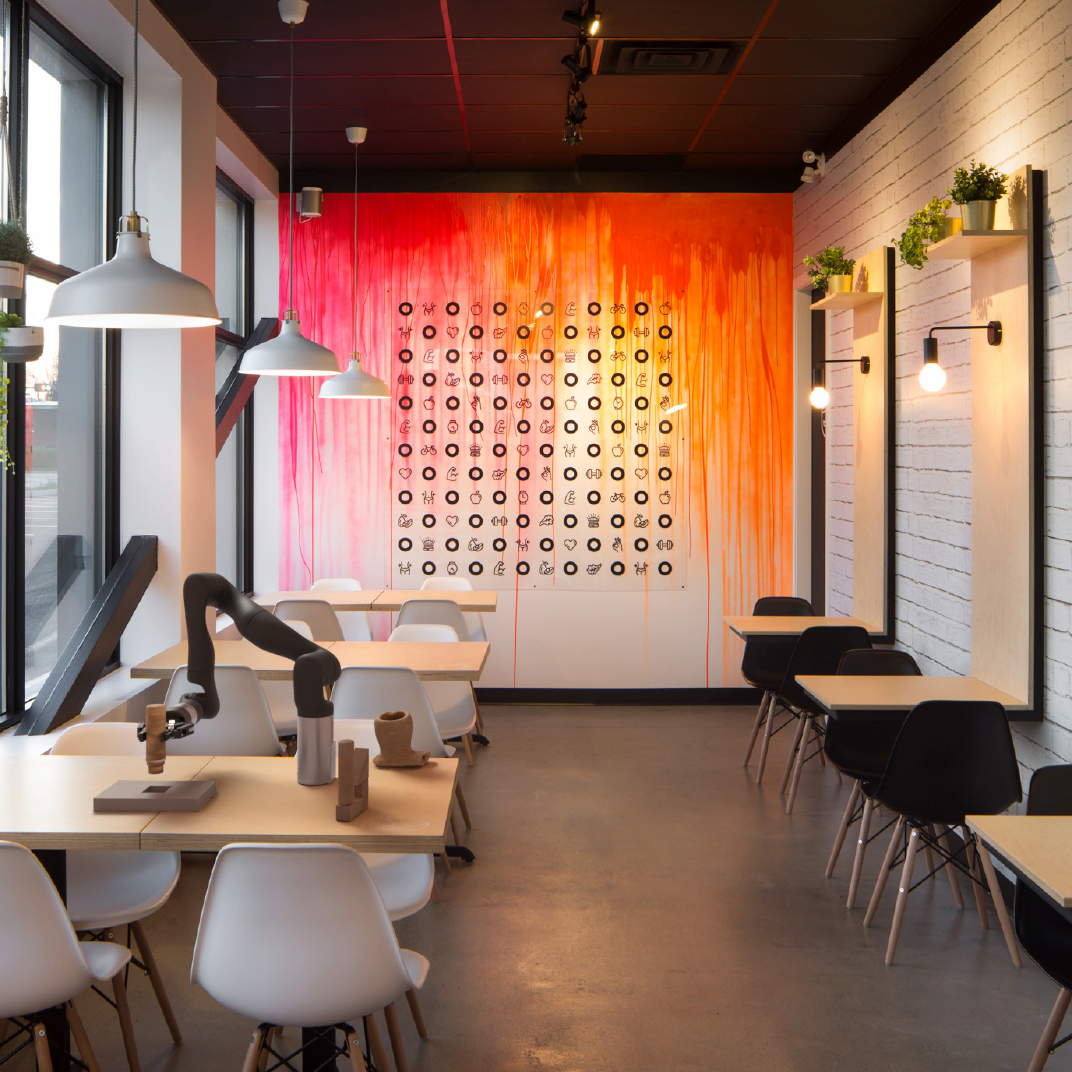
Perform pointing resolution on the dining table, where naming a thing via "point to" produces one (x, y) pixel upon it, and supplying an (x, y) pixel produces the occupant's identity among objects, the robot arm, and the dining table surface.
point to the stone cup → (397, 740)
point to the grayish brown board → (155, 796)
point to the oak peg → (155, 738)
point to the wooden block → (352, 780)
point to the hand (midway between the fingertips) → (151, 738)
